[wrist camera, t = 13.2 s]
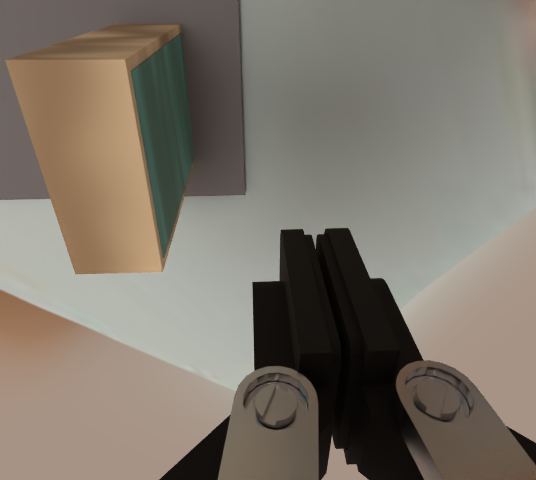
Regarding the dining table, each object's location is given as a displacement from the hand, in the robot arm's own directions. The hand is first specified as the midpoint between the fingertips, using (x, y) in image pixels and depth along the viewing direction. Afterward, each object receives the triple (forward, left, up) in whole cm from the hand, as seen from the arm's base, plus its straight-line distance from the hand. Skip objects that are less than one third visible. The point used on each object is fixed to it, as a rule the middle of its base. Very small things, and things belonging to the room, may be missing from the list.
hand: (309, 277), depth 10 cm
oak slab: (+7, 0, -17) cm, 18 cm away
